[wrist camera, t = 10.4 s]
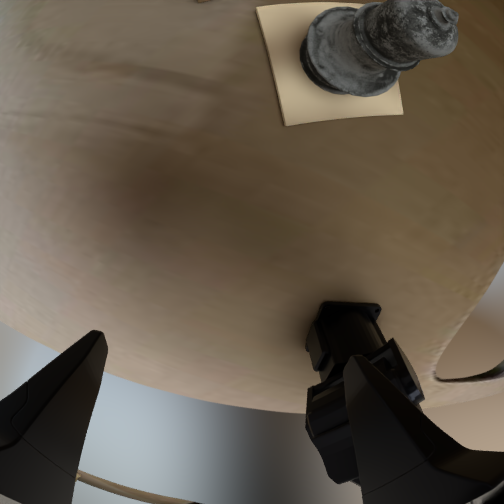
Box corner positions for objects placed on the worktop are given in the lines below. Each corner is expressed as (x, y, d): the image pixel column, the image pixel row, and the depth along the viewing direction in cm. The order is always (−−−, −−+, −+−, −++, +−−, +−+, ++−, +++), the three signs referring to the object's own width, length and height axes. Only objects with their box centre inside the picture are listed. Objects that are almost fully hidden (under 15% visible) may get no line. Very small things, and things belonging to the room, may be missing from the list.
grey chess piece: (287, 22, 13) (349, -78, 2) (368, 25, 13) (485, -24, 2) (301, 100, 16) (399, 87, 5) (381, 99, 15) (518, 112, 5)
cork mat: (397, 113, 17) (403, 114, 16) (284, 125, 17) (286, 126, 16) (373, 8, 12) (377, 5, 12) (255, 11, 13) (256, 7, 12)
